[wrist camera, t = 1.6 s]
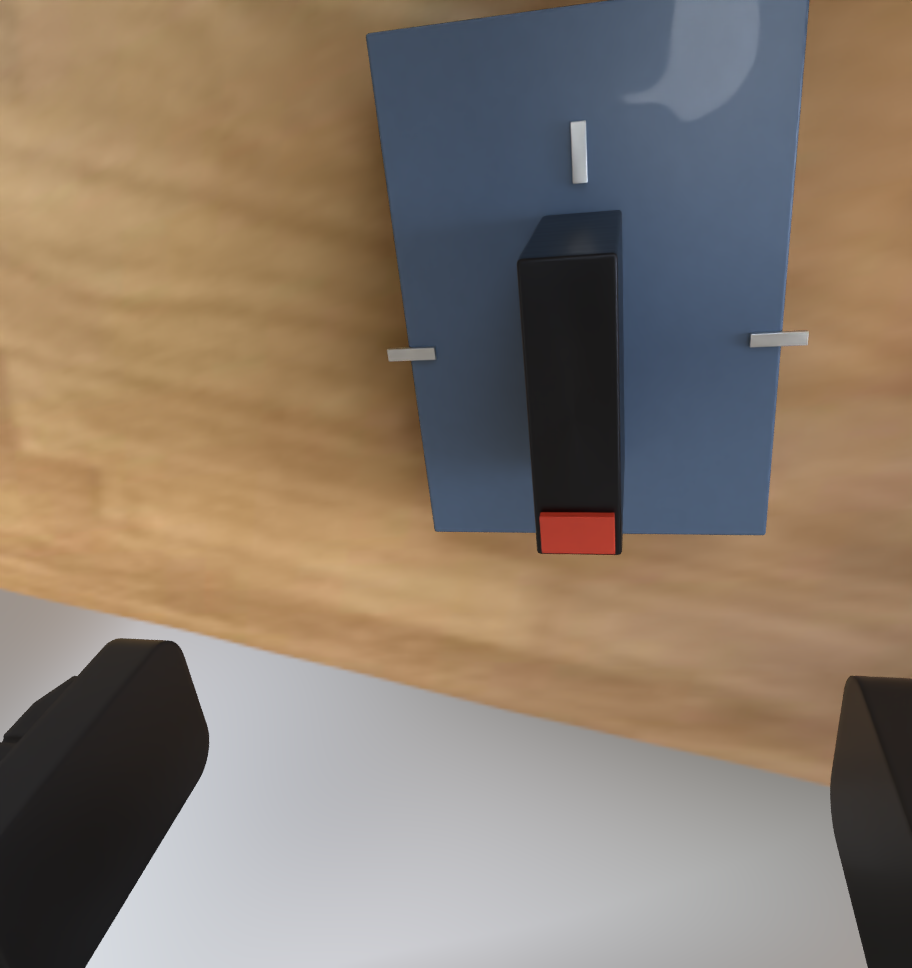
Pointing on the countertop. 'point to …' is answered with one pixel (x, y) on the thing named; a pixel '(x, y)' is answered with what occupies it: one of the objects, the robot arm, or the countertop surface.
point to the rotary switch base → (645, 238)
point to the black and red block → (575, 380)
